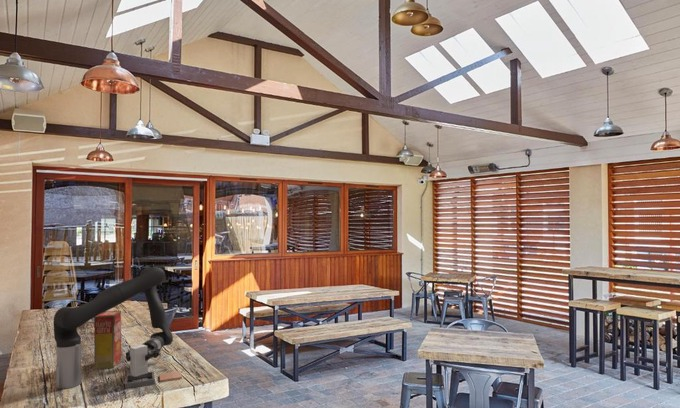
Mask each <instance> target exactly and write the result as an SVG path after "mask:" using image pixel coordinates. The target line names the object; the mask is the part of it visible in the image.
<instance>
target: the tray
mask: <svg viewBox="0 0 680 408" xmlns="http://www.w3.org/2000/svg"><path fill="white" fill-rule="evenodd" d="M145 378H150V379H145ZM140 379H145V380H140ZM155 379H156V377H155V372H154V371H148V373H146V374H143V375H139V376H136V377H134V376H132V375H131V374H127V375H125V380H124V389H130V388H131V389H132V388H138V387H144V386H145V387H146V386H150V385H151V384H152V385H156V381H155ZM131 380H132V382H128V381H131ZM133 380H138V381H133Z"/></svg>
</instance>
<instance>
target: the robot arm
mask: <svg viewBox="0 0 680 408" xmlns="http://www.w3.org/2000/svg"><path fill="white" fill-rule="evenodd" d="M165 278H166V273H165V271H164V269H162V268H161V267H158V266H153V267H152V266H151V267H146V268H144V269H142V270H141V272H140V274H139V276H136V277H134V278H132V279H127V280H124V281H122V282H121V281H120V282H118V283H116V284H114V285H111V286H109V287H108V288H105V289H103V290H102V291H100V292H99V293H98V294H97V295H96V296H95V297H94V298H93V299H92V300H90V301H89V302H86V303H84V304H81V305H79V306H75V307H71V306H63V307H61V308H59V309H57V311H56V312H55V314H54V316H53V336H54V337H53V338H54V341H55V343H56V344H55V345H56V348H55V349H56V365H55V389H56V390H57V389H71V388H75V387H77V386H79V385H81V384H82V379H83V378H82V376H83V375H82V341H81V340H82V338H81V336H80V334H79V333H78V330H77V329H78V328H79V327H82V326H83V325H84V324H86V323H87V322H89V321H91V320H92V319H94V317H95V316H97V315H99V314H101V313H103V312H105V311H110V310H111V309H113V308H115V307H117V306H119V305H122V304H123V303H125V302H126V301H129V300H130V299H132V298H133V297H135V296H137V295H138V294H140V293H142V292H144V296H145V298H146V302H147V307H148V310H149V316H150V323H151V327H152V328H153V329H160V330H161V331H159V332H154V333H152V334H150V338H149V339H147V340H145V341H144V342H143V343H142V344H143V345H146V346H147V353H148V354H147V355H146V356H145V361H147V360H148V361H149V360H150V359H152V358H154V359H157V358H158V357H159V356H161V354H162V353H161V351H162V350H161V349H162V348H163V347H166V346H169V345H171V344H172V343H173V341H174V337H173V334H172V331H171V329H170V328H169V325H168V323H167V317H166V310H165V307H164V305H163V303H162V301H161V298H160V296H159V293H158V291H157V290H158V289H157V286H159V285H160V284H161V283H162V282H164V280H165ZM125 360H126V362H130V349H129V350H128V351H127V352H125Z"/></svg>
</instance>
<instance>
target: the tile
mask: <svg viewBox="0 0 680 408" xmlns="http://www.w3.org/2000/svg"><path fill="white" fill-rule="evenodd" d="M158 375H159V377H158V378H159V382H160V383H163V382H169V381H176V380H181V379H183V376H182V372H181V370H178V371H172V372H163V373H159V374H158Z"/></svg>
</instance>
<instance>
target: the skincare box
mask: <svg viewBox="0 0 680 408" xmlns="http://www.w3.org/2000/svg"><path fill="white" fill-rule="evenodd" d="M129 350H130V361H129V367H130V371H129V372H130V374H129V375H132V376H134V377H136V376H139V375H143V374H146V373H148V372H149V363H148V361H149V360H147V361H145V356H146V355H147V354H148V353H147V346H146V345H143V343H142V344H140V345H139V344H138V345H133V346H130V347H129Z"/></svg>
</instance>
